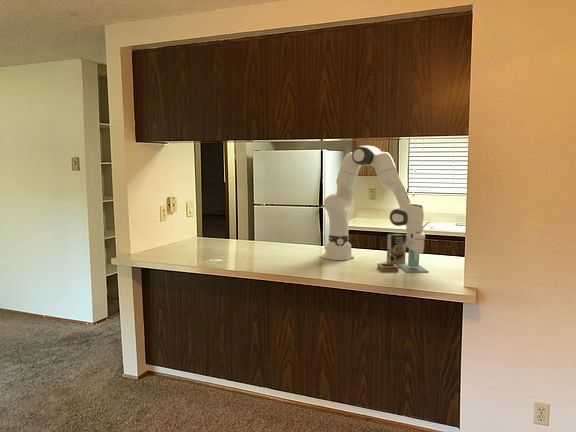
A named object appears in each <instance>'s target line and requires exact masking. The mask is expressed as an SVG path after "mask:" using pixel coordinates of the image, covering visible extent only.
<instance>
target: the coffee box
mask: <svg viewBox="0 0 576 432" xmlns="http://www.w3.org/2000/svg"><path fill="white" fill-rule="evenodd" d="M386 247H387V248H386V262H388V263H394V264H397V263H398V264H399V263H406V253H407V252H406V250H407V247H406V234H404V233H388V234H387V246H386Z"/></svg>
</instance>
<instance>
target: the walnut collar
mask: <svg viewBox="0 0 576 432" xmlns="http://www.w3.org/2000/svg"><path fill="white" fill-rule="evenodd" d="M377 269H378V270H379V271H380V272H381V273H389V272H388V271H392V272H393V273H396V272H397V273H398V272H399V265H398V266H397V264H396V263H390V262H388V263H386V262H384V263H377Z"/></svg>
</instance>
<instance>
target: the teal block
mask: <svg viewBox="0 0 576 432" xmlns="http://www.w3.org/2000/svg"><path fill="white" fill-rule="evenodd" d="M407 254H408V256H407V257H408V258H407V259H408V260H407V266H410V267H419V266H420V253H419V254H418V257H417V260H414V259H413V256H414V252H413V251H409V250H408V253H407Z"/></svg>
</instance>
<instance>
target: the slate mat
mask: <svg viewBox="0 0 576 432" xmlns="http://www.w3.org/2000/svg"><path fill="white" fill-rule="evenodd" d="M398 268H400V269H401V270H402V271H404V272H405V273H407V274H410V273H411V274H412V273H413V274H414V273H415V274H416V273H418V274H419V273H421V274H423V273H427V274H428V273H429V271H428V270H427V269H426V268H425V267H423V266H421V265H419V267H410V266H409V265H398Z"/></svg>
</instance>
